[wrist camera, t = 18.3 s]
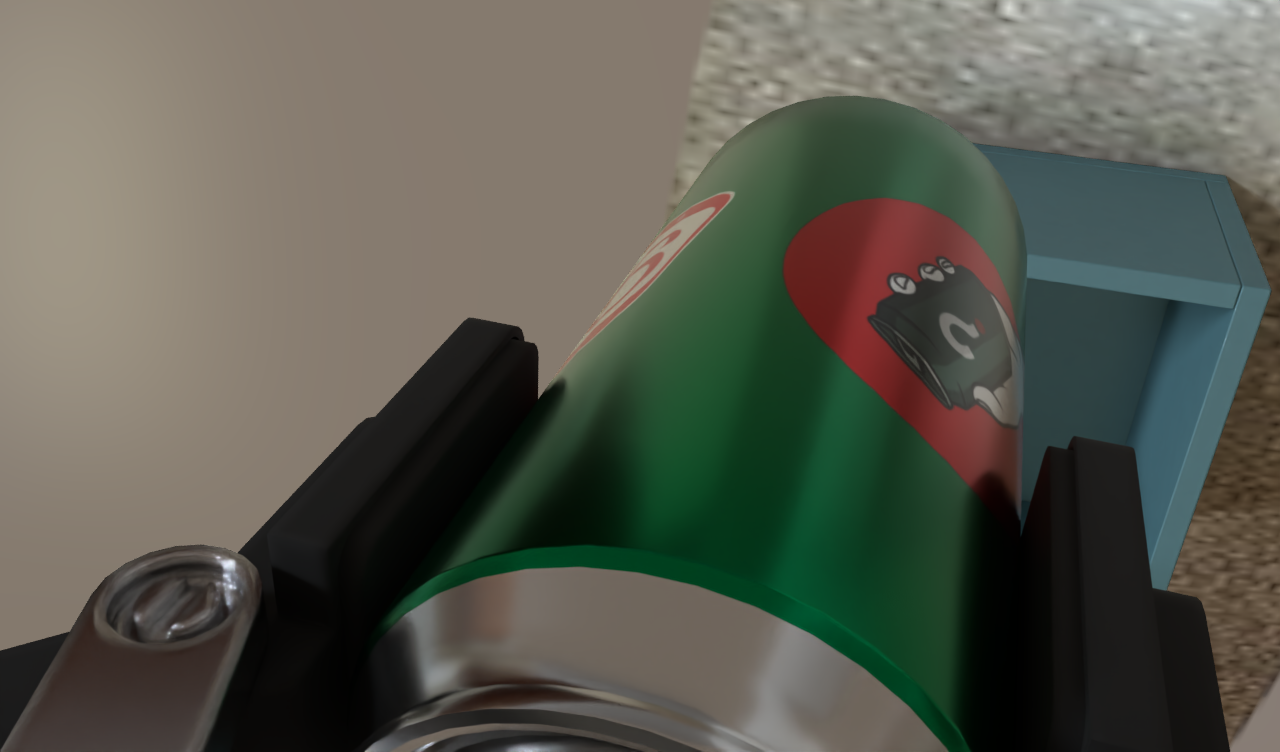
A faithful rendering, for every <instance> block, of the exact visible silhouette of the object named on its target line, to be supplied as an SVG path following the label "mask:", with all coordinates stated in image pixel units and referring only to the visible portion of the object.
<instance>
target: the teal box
mask: <svg viewBox="0 0 1280 752" xmlns="http://www.w3.org/2000/svg"><path fill="white" fill-rule="evenodd" d="M972 144H973V145H974V146H976V147H977V148H978V149H979V150H980V151H981V152H982V153H983V154H984V155H985V156H986V157H987V158H988V160H989V161H990V162H991V164H992V165H993V166H994V168H995V169H996V170H997V172H998V173H999V174H1000V175H1001V177H1002V178H1003V180H1004V182H1005V184H1006V186H1007V187H1008V189H1009V191H1010V193H1011V195H1012V197H1013V199H1014V201H1015V203H1016V206H1017V209H1018V212H1019V215H1020V218H1021V221H1022V225H1023V228H1024V234H1025V241H1026V249H1027V287H1026V329H1025V370H1024V411H1023V453H1022V494H1021V534H1022V531H1023V527H1024V524H1025V520H1026V517H1027V513H1028V509H1029V506H1030V502H1031V499H1032V495H1033V492H1034V488H1035V485H1036V481H1037V478H1038V474H1039V471H1040V467H1041V464H1042V460H1043V457H1044V454H1045V451H1046V449H1047V447H1048V446H1053V447H1058V448H1063V449H1067V448H1068V445H1069V443H1070V441H1071V439H1072V437H1073V436H1078V437H1083V438H1088V439H1094V440H1099V441H1104V442H1109V443H1114V444H1119V445H1124V446H1129V447H1132V448H1134V450H1135V454H1136V462H1137V470H1138V478H1139V485H1140V493H1141V501H1142V509H1143V517H1144V525H1145V533H1146V541H1147V548H1148V556H1149V564H1150V572H1151V580H1152V588H1156V589H1160V590H1165V591H1167V588H1168V585H1169V583H1170V580H1171V577H1172V574H1173V571H1174V568H1175V565H1176V563H1177V560H1178V557H1179V554H1180V551H1181V548H1182V545H1183V543H1184V540H1185V537H1186V534H1187V531H1188V528H1189V525H1190V523H1191V520H1192V517H1193V514H1194V511H1195V508H1196V505H1197V503H1198V500H1199V497H1200V494H1201V491H1202V488H1203V485H1204V483H1205V480H1206V477H1207V474H1208V471H1209V468H1210V465H1211V463H1212V460H1213V457H1214V454H1215V451H1216V448H1217V445H1218V443H1219V440H1220V437H1221V434H1222V431H1223V428H1224V425H1225V423H1226V420H1227V417H1228V414H1229V411H1230V408H1231V405H1232V403H1233V400H1234V397H1235V394H1236V391H1237V388H1238V385H1239V383H1240V380H1241V377H1242V374H1243V371H1244V368H1245V365H1246V363H1247V360H1248V357H1249V354H1250V351H1251V348H1252V345H1253V343H1254V340H1255V337H1256V334H1257V331H1258V328H1259V325H1260V323H1261V320H1262V317H1263V314H1264V311H1265V308H1266V305H1267V303H1268V300H1269V297H1270V294H1271V288H1270V285H1269V283H1268V280H1267V278H1266V275H1265V273H1264V270H1263V268H1262V265H1261V263H1260V260H1259V258H1258V255H1257V253H1256V250H1255V248H1254V245H1253V243H1252V240H1251V238H1250V235H1249V233H1248V230H1247V228H1246V225H1245V223H1244V220H1243V218H1242V215H1241V213H1240V210H1239V208H1238V205H1237V203H1236V200H1235V198H1234V195H1233V193H1232V190H1231V188H1230V185H1229V183H1228V180H1227V178H1226V176H1223V175H1215V174H1207V173H1200V172H1192V171H1184V170H1176V169H1168V168H1161V167H1153V166H1145V165H1137V164H1129V163H1122V162H1114V161H1106V160H1098V159H1091V158H1083V157H1075V156H1067V155H1059V154H1052V153H1044V152H1036V151H1028V150H1020V149H1013V148H1005V147H997V146H989V145H981V144H974V143H972ZM1020 538H1021V535H1020Z"/></svg>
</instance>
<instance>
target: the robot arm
mask: <svg viewBox="0 0 1280 752" xmlns="http://www.w3.org/2000/svg"><path fill="white" fill-rule="evenodd" d="M537 400H538V349H537V346H536V345H535V344H534V343H530V342H525V341H524V336H523V332H522V330H521V329H520V328H519V327H517V326H512V325H507V324H502V323H497V322H491V321H486V320H481V319H476V318H468V319H466V320H465V321H464V322H463V323H462V324H461V325H460V326H459V327H458V328H457V329H456V330H455V331H454V332H453V334H452V335H451V336H450V337H449V338H448V339H447V340H446V341H445V342H444V343H443V344H442V345H441V347H440V348H439V349H438V350H437V351H436V352H435V353H434V354H433V355H432V356H431V357H430V358H429V359H428V360H427V362H426V363H425V364H424V365H423V366H422V367H421V368H420V369H419V370H418V371H417V372H416V373H415V374H414V376H413V377H412V378H411V379H410V380H409V381H408V382H407V383H406V384H405V385H404V386H403V387H402V388H401V390H400V391H399V392H398V393H397V394H396V395H395V396H394V397H393V398H392V399H391V400H390V401H389V403H388V404H387V405H386V406H385V407H384V408H383V409H382V410H381V411H380V412H379V413H378V414H377V415H376V417H371V418H366V419H365V420H364V421H363V422H361V423H360V424H359V425H358V426H357V427H356V428H355V429H354V430H353V431H352V432H351V433H350V434H349V435H348V436H347V437H346V439H344V440H343V441H342V442H341V443H340V445H339V446H338V447H337V448H336V449H335V450H334V451H333V452H332V453H331V454H330V455H329V456H328V457H327V458H326V459H325V460H324V462H323V463H322V464H321V465H320V466H319V467H318V468H317V469H316V470H315V471H314V472H313V473H312V474H311V476H309V477H308V479H307V480H306V481H305V482H304V483H303V484H302V485H301V486H300V487H299V488H298V489H297V490H296V491H295V493H293V494H292V496H291V497H290V498H289V499H288V500H287V501H286V502H285V503H284V504H283V505H282V506H281V507H280V508H279V509H278V510H277V511H276V513H275V514H274V515H273V516H272V517H271V518H270V519H269V520H268V521H267V522H266V523H265V524H264V525H263V526H262V528H261V529H259V531H258V532H257V533H256V534H255V535H254V536H253V537H252V538H251V539H250V540H249V541H248V542H247V543H246V544H245V545H244V547H243V548H242V549H241V550H240V551H239V552H238V553H236V552H233V551H231V550H228V549H226V548H221V547H214V546H207V545H188V546H175V547H171V548H167V549H162V550H158V551H154V552H150V553H148V554H146V555H143V556H141V557H139V558H137V559H134V560H132V561H130V562H128V563H125V564H124V565H123V566H121V567H120V568H118V569H117V570H116V571H114V572H113V573H111V574H110V575H109V576H107V577H106V578H105V579H104V580H103V581H102V583H101V584H100V585H99V586H98V587H97V589H96V590H95V591H94V592H93V593H92V595H91V596H90V598H89V600H88V601H87V603H86V605H85V607H84V609H83V610H82V612H81V613H80V615H79V617H78V618H77V620H76V622H75V624H74V625H73V627H72V629H71V631H70V632H67V633H63V634H60V635H56V636H52V637H49V638H45V639H42V640H38V641H34V642H30V643H27V644H23V645H19V646H16V647H12V648H9V649H5V650H1V651H0V752H349V749H348V736H347V723H346V720H347V708H348V696H349V685H350V682H351V679H352V676H353V673H354V669H355V666H356V663H357V660H358V657H359V654H360V651H361V650H362V648H363V646H364V645H365V643H366V641H367V640H368V638H369V636H370V635H371V633H372V632H373V630H374V628H375V627H376V625H377V623H378V622H379V620H380V619H381V617H382V616H383V615H384V613H385V612H386V610H387V609H388V608H389V606H390V605H391V603H392V602H393V601H394V599H395V598H396V596H397V595H398V594H399V592H400V591H401V590H402V588H403V587H404V585H405V584H406V583H407V581H408V580H409V578H410V577H411V576H412V574H413V573H414V571H415V570H416V569H417V567H418V566H419V564H420V563H421V562H422V560H423V559H424V558H425V556H426V555H427V553H428V552H429V551H430V549H431V548H432V546H433V545H434V544H435V542H436V541H437V539H438V538H439V537H440V535H441V534H442V533H443V531H444V530H445V528H446V527H447V526H448V524H449V523H450V521H451V520H452V519H453V517H454V516H455V514H456V513H457V512H458V510H459V509H460V507H461V506H462V505H463V503H464V502H465V501H466V499H467V498H468V496H469V495H470V494H471V492H472V491H473V489H474V488H475V487H476V485H477V484H478V482H479V481H480V480H481V478H482V477H483V476H484V474H485V473H486V471H487V470H488V469H489V467H490V466H491V464H492V463H493V462H494V460H495V459H496V457H497V456H498V455H499V453H500V452H501V451H502V449H503V448H504V446H505V445H506V444H507V442H508V441H509V439H510V438H511V437H512V435H513V434H514V432H515V431H516V430H517V428H518V427H519V425H520V424H521V423H522V421H523V420H524V419H525V417H526V416H527V414H528V413H529V412H530V410H531V409H532V407H533V406H534V405H535V403H536V402H537ZM1015 752H1230V748H1229V742H1228V737H1227V731H1226V726H1225V720H1224V715H1223V709H1222V704H1221V698H1220V693H1219V687H1218V682H1217V676H1216V671H1215V665H1214V660H1213V654H1212V649H1211V643H1210V637H1209V632H1208V626H1207V621H1206V615H1205V612H1204V608H1203V605H1202V602H1201V601H1200V600H1199V599H1198V598H1196V597H1192V596H1188V595H1183V594H1179V593H1174V592H1170V591H1165V590H1160V589H1156V588H1152V580H1151V572H1150V564H1149V556H1148V548H1147V541H1146V533H1145V525H1144V517H1143V509H1142V501H1141V493H1140V485H1139V478H1138V470H1137V462H1136V454H1135V450H1134V448H1132V447H1129V446H1124V445H1119V444H1114V443H1109V442H1104V441H1099V440H1094V439H1088V438H1083V437H1078V436H1073V437H1072V439H1071V441H1070V443H1069V445H1068V448H1067V449H1063V448H1058V447H1053V446H1048V447H1047V449H1046V451H1045V454H1044V457H1043V460H1042V464H1041V467H1040V471H1039V474H1038V478H1037V481H1036V485H1035V488H1034V492H1033V495H1032V499H1031V502H1030V506H1029V509H1028V513H1027V517H1026V520H1025V524H1024V527H1023V531H1022V534H1021V538H1020V577H1019V618H1018V659H1017V701H1016V742H1015Z"/></svg>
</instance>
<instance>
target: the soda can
mask: <svg viewBox="0 0 1280 752" xmlns="http://www.w3.org/2000/svg"><path fill="white" fill-rule="evenodd" d="M1026 287H1027V249H1026V241H1025V234H1024V228H1023V225H1022V221H1021V218H1020V215H1019V212H1018V209H1017V206H1016V203H1015V201H1014V199H1013V197H1012V195H1011V193H1010V191H1009V189H1008V187H1007V186H1006V184H1005V182H1004V180H1003V178H1002V177H1001V175H1000V174H999V173H998V172H997V170H996V169H995V168H994V166H993V165H992V164H991V162H990V161H989V160H988V158H987V157H986V156H985V155H984V154H983V153H982V152H981V151H980V150H979V149H978V148H977V147H976V146H974V145H973V144H972V143H971V142H970V141H969V140H968V139H967V138H966V137H965V136H963V135H962V134H961V133H959V132H958V131H956V130H955V129H953V128H952V127H950V126H949V125H947V124H946V123H944V122H943V121H941V120H939V119H937V118H935V117H933V116H931V115H929V114H926V113H924V112H922V111H920V110H918V109H916V108H913V107H910V106H906V105H903V104H899V103H896V102H892V101H889V100H885V99H878V98H870V97H861V96H834V97H823V98H817V99H812V100H807V101H802V102H797V103H795V104H792V105H789V106H786V107H783V108H781V109H778V110H775V111H772V112H771V113H769V114H767V115H765V116H763V117H761V118H760V119H758V120H756V121H754V122H752V123H751V124H749V125H747V126H746V127H745V128H744V129H742V130H741V131H740V132H739V133H737V134H736V135H735V136H733V137H732V138H731V139H730V140H728V141H727V142H726V143H725V145H724V146H723V147H722V148H721V149H720V150H719V151H718V152H717V153H716V154H715V156H714V157H713V158H712V159H711V160H710V161H709V163H708V164H707V166H706V167H705V168H704V170H703V171H702V172H701V174H700V175H699V177H698V178H697V179H696V181H695V182H694V184H693V185H692V186H691V188H690V189H689V191H688V192H687V193H686V195H685V196H684V197H683V199H682V200H681V202H680V203H679V204H678V206H677V207H676V209H675V210H674V211H673V213H672V214H671V216H670V217H669V218H668V220H667V221H666V223H665V224H664V225H663V227H662V228H661V229H660V231H659V232H658V234H657V235H656V236H655V238H654V239H653V241H652V242H651V243H650V245H649V246H648V248H647V249H646V250H645V252H644V253H643V254H642V256H641V257H640V259H639V260H638V262H637V263H636V264H635V266H634V267H633V268H632V270H631V271H630V273H629V274H628V276H627V277H626V278H625V280H624V281H623V282H622V284H621V285H620V286H619V288H618V289H617V291H616V292H615V294H614V295H613V296H612V298H611V299H610V300H609V302H608V303H607V305H606V306H605V307H604V309H603V310H602V311H601V313H600V314H599V316H598V317H597V318H596V320H595V321H594V323H593V324H592V325H591V327H590V328H589V330H588V331H587V332H586V334H585V335H584V337H583V338H582V339H581V341H580V342H579V343H578V345H577V346H576V348H575V349H574V350H573V352H572V353H571V355H570V356H569V358H568V359H567V360H566V362H565V363H564V364H563V366H562V367H561V369H560V370H559V371H558V373H557V374H556V375H555V377H554V378H553V380H552V381H551V382H550V384H549V385H548V387H547V388H546V389H545V391H544V392H543V394H542V395H541V396H540V398H539V399H538V400H537V402H536V403H535V405H534V406H533V407H532V409H531V410H530V412H529V413H528V414H527V416H526V417H525V419H524V420H523V421H522V423H521V424H520V425H519V427H518V428H517V430H516V431H515V432H514V434H513V435H512V437H511V438H510V439H509V441H508V442H507V444H506V445H505V446H504V448H503V449H502V451H501V452H500V453H499V455H498V456H497V457H496V459H495V460H494V462H493V463H492V464H491V466H490V467H489V469H488V470H487V471H486V473H485V474H484V476H483V477H482V478H481V480H480V481H479V482H478V484H477V485H476V487H475V488H474V489H473V491H472V492H471V494H470V495H469V496H468V498H467V499H466V501H465V502H464V503H463V505H462V506H461V507H460V509H459V510H458V512H457V513H456V514H455V516H454V517H453V519H452V520H451V521H450V523H449V524H448V526H447V527H446V528H445V530H444V531H443V533H442V534H441V535H440V537H439V538H438V539H437V541H436V542H435V544H434V545H433V546H432V548H431V549H430V551H429V552H428V553H427V555H426V556H425V558H424V559H423V560H422V562H421V563H420V564H419V566H418V567H417V569H416V570H415V571H414V573H413V574H412V576H411V577H410V578H409V580H408V581H407V583H406V584H405V585H404V587H403V588H402V590H401V591H400V592H399V594H398V595H397V596H396V598H395V599H394V601H393V602H392V603H391V605H390V606H389V608H388V609H387V610H386V612H385V613H384V615H383V616H382V617H381V619H380V620H379V622H378V623H377V625H376V627H375V628H374V630H373V632H372V633H371V635H370V636H369V638H368V640H367V641H366V643H365V645H364V646H363V648H362V650H361V651H360V654H359V657H358V660H357V663H356V666H355V669H354V673H353V676H352V679H351V682H350V685H349V696H348V708H347V720H346V723H347V736H348V749H349V752H1015V742H1016V701H1017V659H1018V618H1019V577H1020V535H1021V494H1022V453H1023V411H1024V370H1025V329H1026Z"/></svg>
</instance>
